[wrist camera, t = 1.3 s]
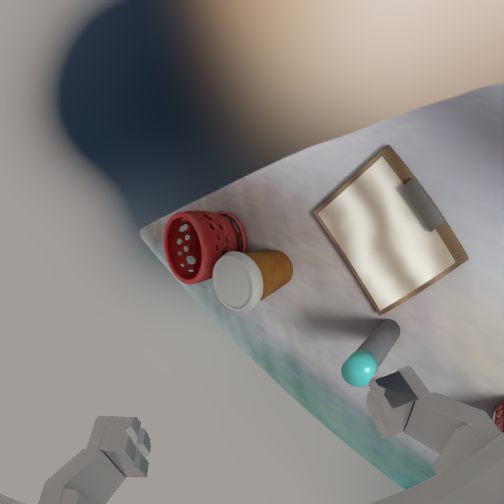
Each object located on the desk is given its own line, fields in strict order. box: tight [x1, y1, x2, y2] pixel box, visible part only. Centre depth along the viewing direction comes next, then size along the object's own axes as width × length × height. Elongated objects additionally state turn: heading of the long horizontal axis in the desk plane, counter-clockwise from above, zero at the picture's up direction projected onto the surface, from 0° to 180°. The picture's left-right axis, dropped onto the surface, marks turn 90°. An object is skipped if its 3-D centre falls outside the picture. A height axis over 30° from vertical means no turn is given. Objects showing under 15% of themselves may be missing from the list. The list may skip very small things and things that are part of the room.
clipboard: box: [313, 145, 468, 316], centre depth 39 cm, size 16×19×2 cm
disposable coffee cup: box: [212, 251, 293, 312], centre depth 50 cm, size 10×10×12 cm
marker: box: [341, 319, 400, 387], centre depth 37 cm, size 4×4×13 cm
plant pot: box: [164, 211, 247, 284], centre depth 57 cm, size 13×13×12 cm
